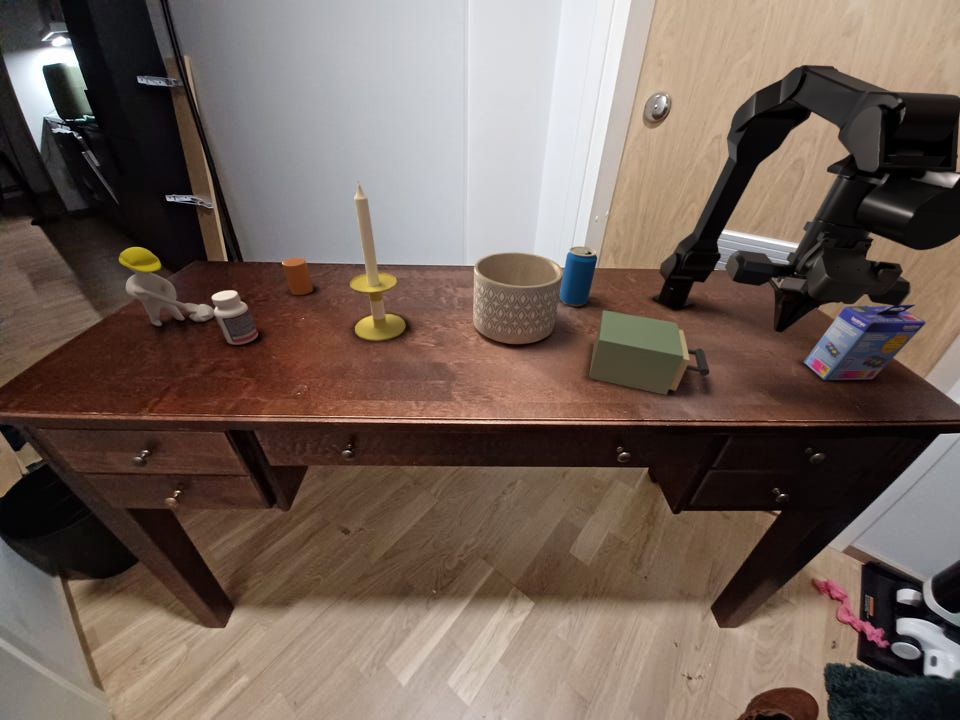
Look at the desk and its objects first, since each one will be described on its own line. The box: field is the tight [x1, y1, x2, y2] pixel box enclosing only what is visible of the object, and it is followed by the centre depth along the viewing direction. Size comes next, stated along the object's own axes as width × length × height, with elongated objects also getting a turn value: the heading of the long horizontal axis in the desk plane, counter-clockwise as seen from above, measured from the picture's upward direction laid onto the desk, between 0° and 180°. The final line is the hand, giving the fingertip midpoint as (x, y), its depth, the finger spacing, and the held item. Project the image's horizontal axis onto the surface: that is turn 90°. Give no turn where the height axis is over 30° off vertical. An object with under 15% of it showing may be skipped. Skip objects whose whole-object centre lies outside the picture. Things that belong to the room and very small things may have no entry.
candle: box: [349, 181, 407, 342], centre depth 65 cm, size 10×10×27 cm
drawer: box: [669, 328, 710, 391], centre depth 62 cm, size 15×9×6 cm, turn 71°
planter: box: [472, 251, 564, 345], centre depth 71 cm, size 16×16×13 cm
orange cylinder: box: [282, 257, 314, 296], centre depth 83 cm, size 5×5×7 cm
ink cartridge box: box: [803, 304, 927, 381], centre depth 62 cm, size 10×6×14 cm, turn 95°
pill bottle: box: [211, 289, 259, 346], centre depth 66 cm, size 5×5×9 cm
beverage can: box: [559, 246, 598, 307], centre depth 82 cm, size 6×6×12 cm
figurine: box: [118, 246, 215, 327], centre depth 69 cm, size 10×9×15 cm
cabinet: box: [588, 309, 684, 396], centre depth 62 cm, size 12×10×8 cm
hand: (777, 330), depth 53 cm, fingers closed
